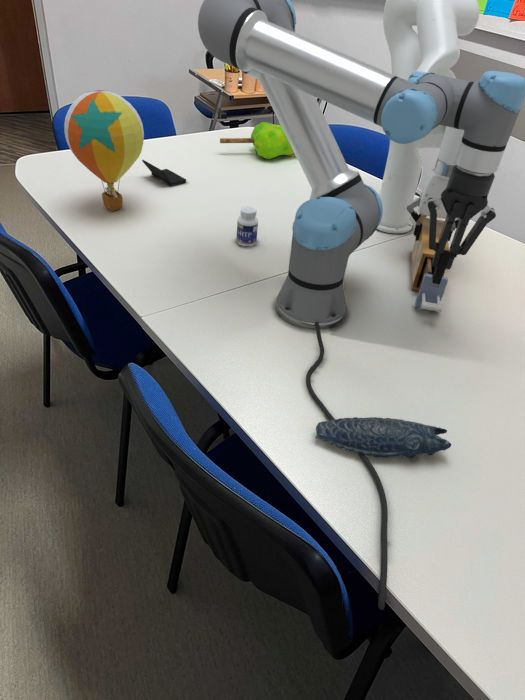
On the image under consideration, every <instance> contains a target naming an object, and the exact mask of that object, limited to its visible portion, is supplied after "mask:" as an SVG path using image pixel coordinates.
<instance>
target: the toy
mask: <svg viewBox="0 0 525 700" xmlns="http://www.w3.org/2000/svg"><path fill="white" fill-rule="evenodd" d="M63 128H64V130H63V131H64V132H63V133H64V137H65V141H66V144H67V146H68V148H69V150H70V151H71V152H72V154H73V156H75V158H76V159H77V161H78V162H80V163H81V165H83V166H84V167H85V168H86V169H87V170H88V171H90V172H91V173H92V174H93V175H94V176H96V177H97V178H98V179H100V180H101V183H102V184H101V185H102V187H103V191H102V193H101V198H102V203H103V205H104V207H105V208H106V209H108V210H109V211H110V212H113V211H118V210H121V209H122V208H123V203H124V201H123V195H122V194H121V193H120V192H119V191H118V190H119V188H120V183H118V182H120V181H121V178H122V177H123V176H124V175H125V174H126V173H127V172H128V171H129V170H130V169H131V167H133V165H134V164H135V163H136V161H137V160H138V159H139V158H140V155H141V153H142V150H143V147H144V141H145V131H144V130H145V129H144V125H143V121H142V119H141V116H140V114H139V113H138V111H137V109H136V108H134V106H133V105H132V103H130V102H129V101H128V100H127V99H126V98H124V97H123V96H122V95H119V94H117V93H115V92H112V91H109V90H102V89H101V90H100V89H98V90H92V91H87V92H85V93H82V95H79V96H78V97H77V98H76V99H75V100H73V102H72V103H71V105H70V107H69V108H68V111H67V112H66V114H65V118H64V124H63ZM104 183H105V184H106V185H107V186H106V187H105V186H104ZM115 183H118V185H117V190H116V188H115Z"/></svg>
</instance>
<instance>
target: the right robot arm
mask: <svg viewBox="0 0 525 700" xmlns="http://www.w3.org/2000/svg"><path fill="white" fill-rule="evenodd" d="M479 18H480V5H479V1H478V0H385V3H384V9H383V18H382V20H383V23H382V24H383V31H384V32H383V33H384V36H385V40H386V43H387V46H388V50H389V55H390V61H391V64H390V65H391V74H393V75H396V76H397V77H399V78H402V79H405V80H407V79H408V78H409V76H410V75H411V74H412V73H414V72H417V71H419V72H426V73H430V72H432V73H435V74H437V75H442V76H447V77H451V78H456V79H457V77H456V75H455V73H454V72H453V70H452V69H451V68H453V67H454V66H455V65H456V64H457V63H458V62H459V59H460V56H461V49H460V43H459V36H460V37H466V36H468V35H469V34H472V32H473V31H474V30H475V28H476V26H477V25H478V22H479ZM413 26H415V27H417V28H416V30H417V32H416V31H415V30H414V28H413ZM463 134H464V130H462V129H456V128H452V127H448V126H443V125H438V126H437V127H435V128H434V129H432V130H431V131H430V133H429V134H427V135H426V136H425V137H423V138H421V139H419V140H416V141H414V142H411V143H407V144H400V143H396V142H394V141H392V140H391V139H389V146H388V153H387V157H386V163H385V168H384V172H383V177H382V182H381V186H380V190H379V193H378V195H379V197H380V199H381V202H382V207H383V214H382V219H381V222H380V224H379V226H378V227H377V229H376V230H378V231H380V232H384V233H387V234H406V233H408V232H410V231H411V230H412V228H413V222H412V220H411V219H410V216H411V218H412V219H413V221H414V223H415V226H414V229H413V236H414V241H415V240H416V241H418V240H419V236H420V233H421V229H422V222H423V221H424V219H425V218H428V217H430V212H429V209H428V204H427V200H428V199H429V198H433V199H434V198H437V197H439V196H441V194H442V192H443V191H444V190H445V189H446V187H447V184H448V181H449V178H450V175H451V171H452V168H453V167H454V166H455V165H456V164H455V159H456V156H457V153H458V150H459V147H460V144H461V141H462V137H463ZM419 149H439V151H438V154H437V157H436V161H435V164H434V168H433V169H432V168H431V169H430V170H429V172H428V174H427V176H426V178H425V181H424V184H423V186H422V190H421V192H420V194H419V195H420V196H419V197H417V198H415V197H416V192H417V188H418V185H419V181H420V177H421V173H422V170H423V162H422V157H421V156H420V154H419ZM416 207H418V212H417V211H416V210H415V208H416ZM446 215H447V213H446V211H445V208H444V206H443V203H441V204H440V208H439V209H438V210H437V219H438V218H439V219H446ZM459 219H460V218H456V219H455V221H454V223H453V226H452V228H451V231H450V234H449V237H448V242H451V238H452V234H453V232H455V231H456V228H457V225H458V223H459ZM472 219H473V217H472V218H470V220H469V221H471V220H472Z"/></svg>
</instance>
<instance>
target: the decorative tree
mask: <svg viewBox="0 0 525 700" xmlns="http://www.w3.org/2000/svg"><path fill="white" fill-rule="evenodd" d="M219 143H220V144H252V146H253V147H254V149H255V151H256V153H257V155H258V157H261V158H264V159H265V160H271V159H274V158H276V157H279V156H292V155H295V153H294V151H293V149H292V147H291V145H290V143H289V141H288V139H287V137H286V135H285V132H284V130H283V128H282V126H281V124H273V123H270V122H267V121H262V122H260V123H259V124H256V125H255V126H254V127H253V129H252V131H251V134H250V137H227V138H226V137H225V138H223V137H221V138H219Z"/></svg>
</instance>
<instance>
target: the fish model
mask: <svg viewBox="0 0 525 700" xmlns="http://www.w3.org/2000/svg"><path fill="white" fill-rule="evenodd" d="M315 432H316V436H315V439H316V440H320V441H322V442H325V443H328V444H329V445H331V446H335V447H337V448H338V449H344V450H345V451H348V452H353V453H356V454H358V453H362V454H363V455H365V456H366V457H368V456H370V457H374V458H382V459H383V458H384V459H386V458H387V459H388V458H390V457H391V458H395V457H403V458H404V457H405V458H406V459H414V458H415V456H417V455H418V456H419V455H423V454H426V455H428V456H433V455H434V454H436V453H439V452H441V451H446V450H448V449H450V448H451V446H452V443H451V442H450V441H449V440H447V439H446V438H442V437H441V436H440V435H444V434H447V432H448V430H447V429H446V428H442V427H437V426H433V425H429V424H424V423H422V422H421V423H420V422H416V421H412V420H411V421H410V420H404V419H399V418H391V417H384V418H383V417H377V416H373V417H372V416H371V417H358V416H354V417H342V418H334V420H330V421H329V420H326V421H325V420H324V421H320V422H318V423H317V424H316V426H315Z"/></svg>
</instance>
